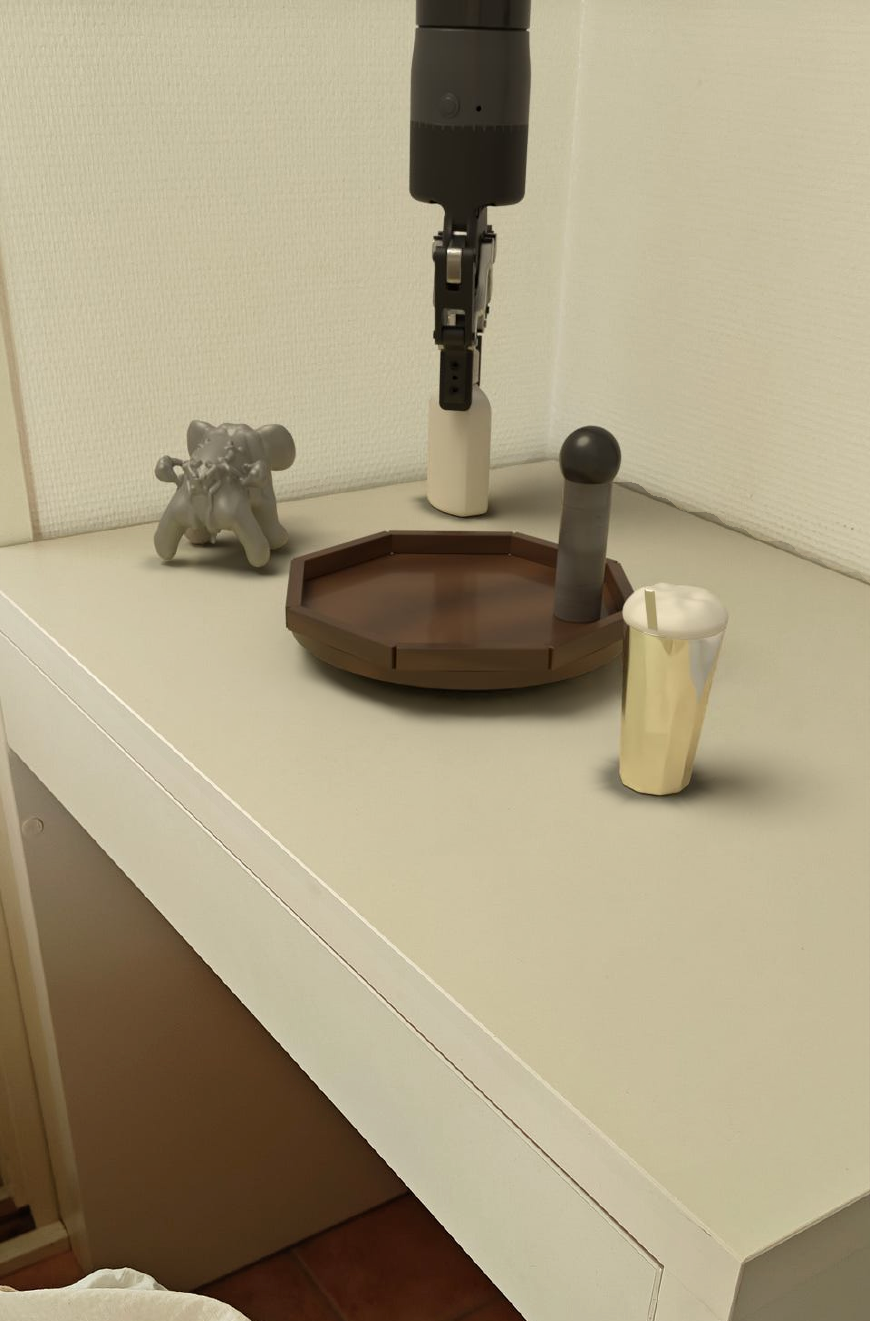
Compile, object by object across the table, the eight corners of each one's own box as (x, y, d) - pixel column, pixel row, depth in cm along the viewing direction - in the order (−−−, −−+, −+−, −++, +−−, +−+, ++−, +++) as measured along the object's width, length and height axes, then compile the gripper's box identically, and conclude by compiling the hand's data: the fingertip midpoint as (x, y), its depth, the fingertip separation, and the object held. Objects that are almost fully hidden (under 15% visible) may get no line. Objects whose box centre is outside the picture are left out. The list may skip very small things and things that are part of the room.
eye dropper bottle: (484, 496, 102) (492, 322, 95) (488, 519, 97) (496, 337, 90) (426, 495, 102) (429, 320, 95) (427, 517, 97) (430, 335, 90)
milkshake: (579, 791, 63) (600, 578, 57) (632, 750, 66) (656, 546, 61) (669, 819, 61) (699, 602, 55) (718, 775, 64) (751, 567, 59)
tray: (696, 623, 77) (724, 421, 71) (477, 723, 65) (488, 492, 59) (446, 545, 87) (451, 363, 81) (218, 620, 75) (204, 414, 69)
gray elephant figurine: (153, 577, 85) (141, 450, 81) (164, 519, 95) (154, 404, 91) (300, 575, 86) (296, 450, 82) (297, 518, 96) (293, 404, 92)
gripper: (521, 124, 79) (505, 428, 89) (535, 112, 91) (520, 381, 101) (394, 120, 80) (391, 421, 90) (425, 108, 92) (420, 376, 101)
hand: (459, 399), depth 95 cm, fingers closed on eye dropper bottle, 5 cm apart
